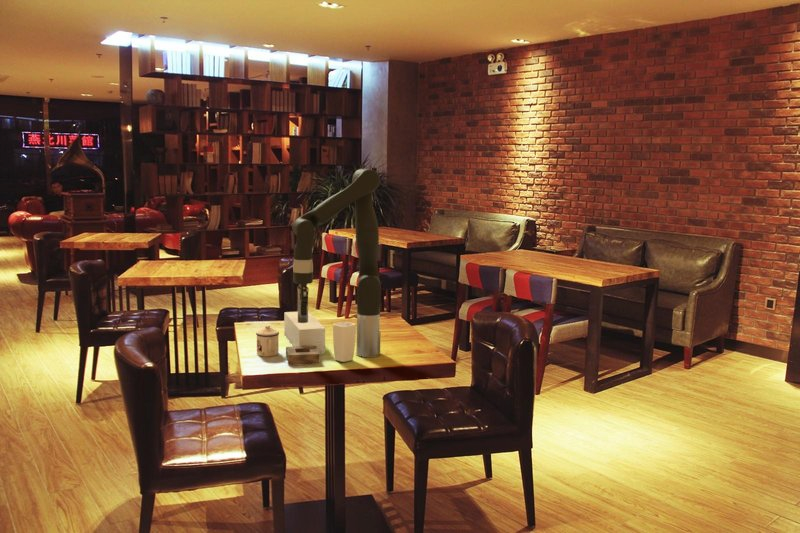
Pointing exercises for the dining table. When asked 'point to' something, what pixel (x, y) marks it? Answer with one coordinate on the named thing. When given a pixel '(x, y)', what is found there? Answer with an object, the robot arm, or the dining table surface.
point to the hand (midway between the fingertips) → (303, 313)
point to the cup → (344, 341)
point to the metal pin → (300, 317)
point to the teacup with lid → (267, 341)
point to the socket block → (302, 355)
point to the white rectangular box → (304, 331)
